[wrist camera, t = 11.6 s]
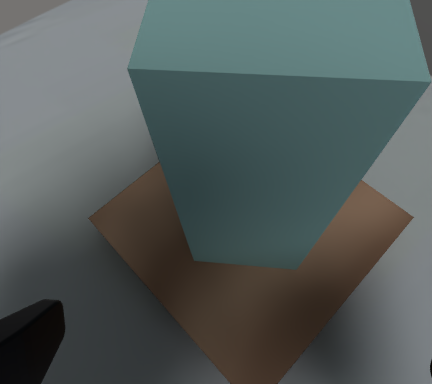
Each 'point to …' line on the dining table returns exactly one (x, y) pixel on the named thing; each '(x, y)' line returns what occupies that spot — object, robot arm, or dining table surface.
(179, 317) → the walnut board
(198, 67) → the teal block
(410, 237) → the dining table surface
